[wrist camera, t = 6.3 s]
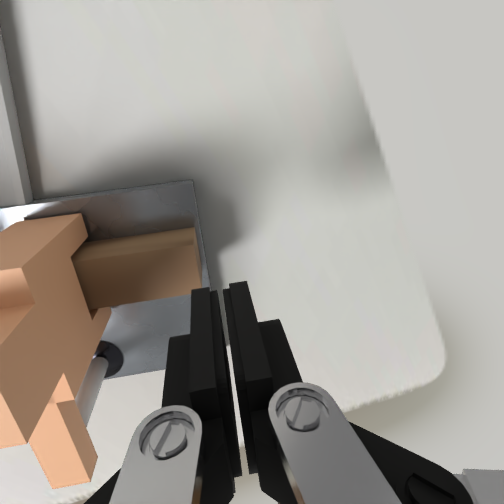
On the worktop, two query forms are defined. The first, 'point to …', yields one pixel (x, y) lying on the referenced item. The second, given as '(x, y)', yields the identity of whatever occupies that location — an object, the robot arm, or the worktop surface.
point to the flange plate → (123, 225)
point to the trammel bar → (138, 268)
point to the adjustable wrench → (11, 145)
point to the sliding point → (48, 348)
